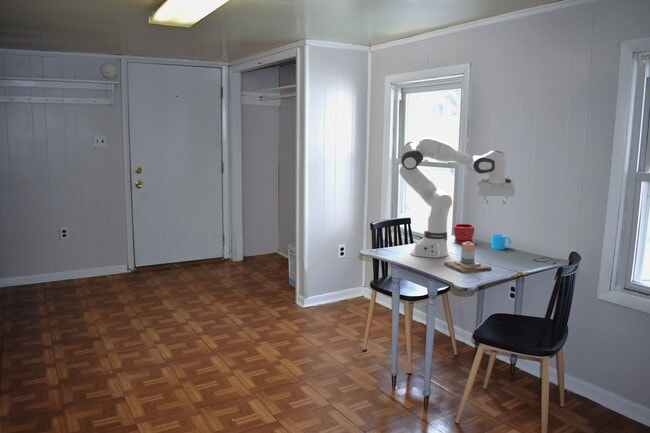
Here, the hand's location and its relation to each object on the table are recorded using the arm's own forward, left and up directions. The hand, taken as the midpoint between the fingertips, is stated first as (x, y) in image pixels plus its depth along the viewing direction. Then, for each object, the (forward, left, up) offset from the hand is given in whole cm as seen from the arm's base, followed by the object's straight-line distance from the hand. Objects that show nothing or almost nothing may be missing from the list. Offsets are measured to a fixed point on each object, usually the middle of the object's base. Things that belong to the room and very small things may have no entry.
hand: (495, 203), depth 295 cm
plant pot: (-15, +44, -33) cm, 57 cm away
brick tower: (-15, -19, -32) cm, 40 cm away
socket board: (-15, -19, -33) cm, 41 cm away
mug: (+8, +33, -33) cm, 48 cm away
